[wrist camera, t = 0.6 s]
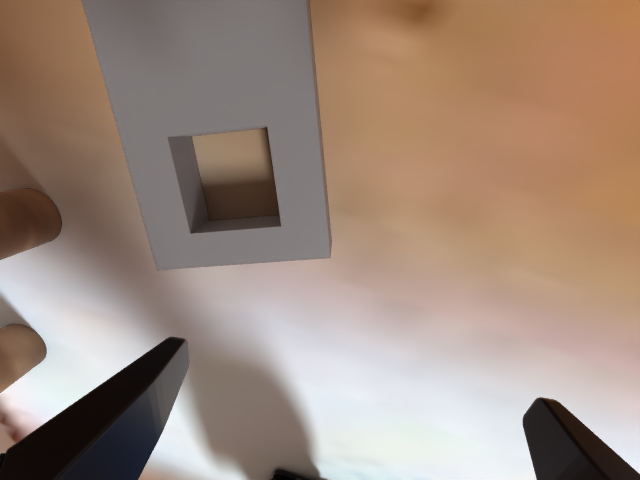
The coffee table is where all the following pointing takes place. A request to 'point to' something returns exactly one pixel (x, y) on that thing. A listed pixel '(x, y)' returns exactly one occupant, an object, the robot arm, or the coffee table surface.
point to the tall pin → (26, 221)
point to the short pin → (18, 352)
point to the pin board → (215, 120)
